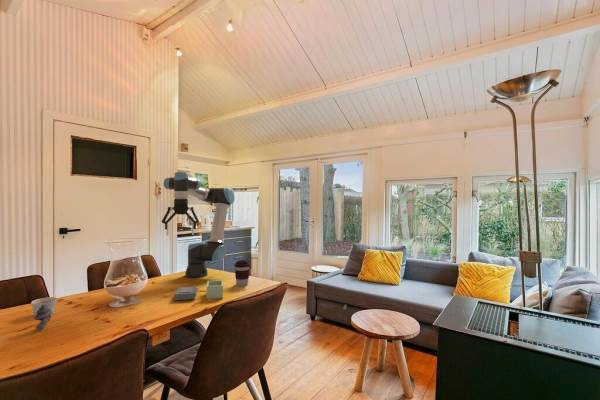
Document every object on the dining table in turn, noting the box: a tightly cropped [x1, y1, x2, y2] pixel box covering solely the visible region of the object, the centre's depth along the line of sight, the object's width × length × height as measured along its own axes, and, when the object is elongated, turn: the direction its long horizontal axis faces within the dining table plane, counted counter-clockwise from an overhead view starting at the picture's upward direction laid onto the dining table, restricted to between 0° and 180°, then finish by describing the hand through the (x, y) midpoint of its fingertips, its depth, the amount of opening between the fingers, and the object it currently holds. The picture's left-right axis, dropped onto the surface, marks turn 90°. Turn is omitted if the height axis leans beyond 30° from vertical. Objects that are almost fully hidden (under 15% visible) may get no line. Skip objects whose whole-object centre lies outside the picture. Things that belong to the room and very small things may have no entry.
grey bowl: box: [31, 296, 58, 317], centre depth 135 cm, size 9×9×6 cm
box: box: [206, 279, 224, 301], centre depth 164 cm, size 12×8×7 cm
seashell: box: [34, 304, 53, 331], centre depth 119 cm, size 5×5×10 cm
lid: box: [174, 285, 198, 301], centre depth 161 cm, size 13×10×4 cm
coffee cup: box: [233, 259, 251, 287], centre depth 186 cm, size 10×10×15 cm
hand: (180, 235), depth 172 cm, fingers open, 13 cm apart
